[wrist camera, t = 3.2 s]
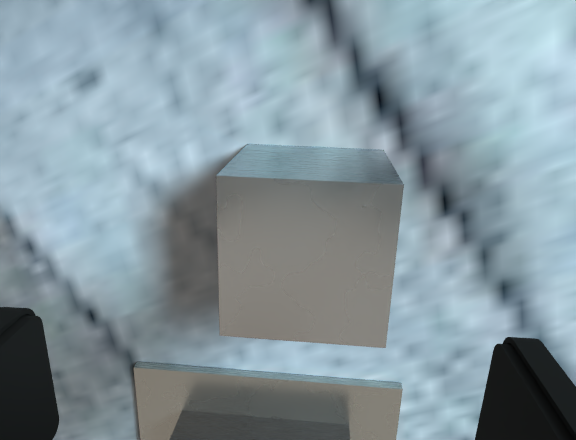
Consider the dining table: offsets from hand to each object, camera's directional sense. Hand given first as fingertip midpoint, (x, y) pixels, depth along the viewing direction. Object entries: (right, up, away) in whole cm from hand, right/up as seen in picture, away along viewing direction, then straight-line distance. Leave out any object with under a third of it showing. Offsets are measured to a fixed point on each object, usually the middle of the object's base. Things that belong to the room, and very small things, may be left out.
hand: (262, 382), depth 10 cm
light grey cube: (+2, +4, +12) cm, 13 cm away
